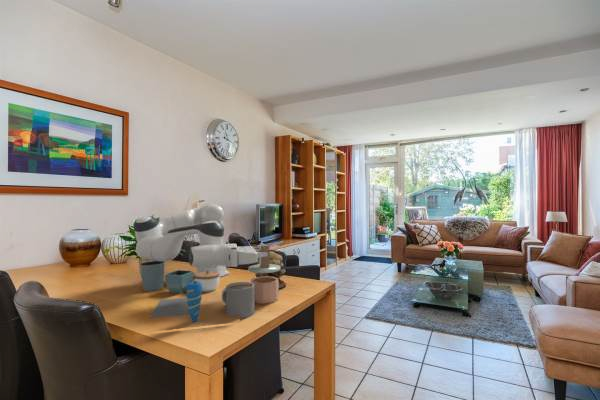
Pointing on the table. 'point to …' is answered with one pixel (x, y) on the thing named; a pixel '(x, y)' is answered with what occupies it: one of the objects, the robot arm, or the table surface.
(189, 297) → the ornament
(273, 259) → the brown rock sculpture
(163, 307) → the mat
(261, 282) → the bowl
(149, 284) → the blue-grey tapered cup
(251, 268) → the lid
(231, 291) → the coffee mug
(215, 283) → the lidded jar
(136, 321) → the table surface
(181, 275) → the flower pot
